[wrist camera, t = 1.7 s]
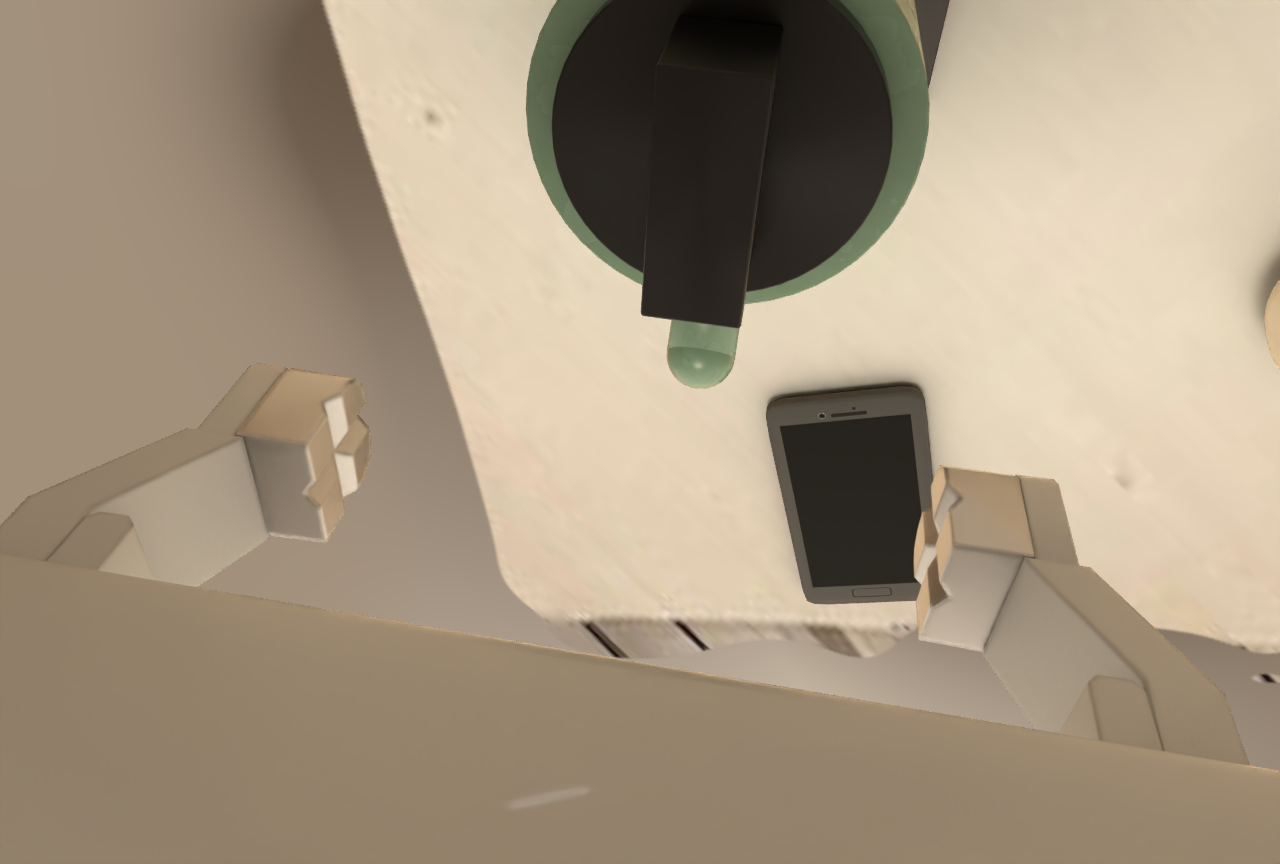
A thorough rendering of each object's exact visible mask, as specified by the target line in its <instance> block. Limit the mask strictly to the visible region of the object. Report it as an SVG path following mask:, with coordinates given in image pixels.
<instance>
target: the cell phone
mask: <svg viewBox="0 0 1280 864" xmlns="http://www.w3.org/2000/svg"><path fill="white" fill-rule="evenodd" d="M766 420H767V426H768V432H769V438H770V442H771V447H772V451H773V456H774V461H775V465H776V470H777V474H778V479H779V483H780V488H781V492H782V497H783V502H784V506H785V511H786V515H787V520H788V524H789V529H790V533H791V538H792V543H793V547H794V552H795V556H796V561H797V565H798V570H799V574H800V579H801V584H802V588H803V592H804V594H805V597H806V599H807V601H808V602H811V603H814V604H847V603H871V602H895V601H917V598H918V595H919V592H920V589H921V586H922V585H921V584H920V583H919V582H918V581H917V579H916V578H915V577H914V547H915V541H916V535H917V529H918V526H919V522H920V519H921V516H922V512H923V511H924V510H925V509H927V508H928V507H930V506H931V505H932V496H931V485H932V482H933V474H932V464H931V454H930V443H929V433H928V423H927V415H926V408H925V401H924V397H923V395H922V392H921V391H920V390H919V389H918V388H915V387H908V386H897V387H887V388H877V389H868V390H858V391H848V392H838V393H829V394H819V395H809V396H799V397H790V398H781V399H779V400H776V401H774V402H772V403H770V404H769V405H768V407H767V412H766Z"/></svg>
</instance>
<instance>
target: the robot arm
mask: <svg viewBox="0 0 1280 864" xmlns="http://www.w3.org/2000/svg"><path fill="white" fill-rule="evenodd" d="M364 404H365V399H364V394H363V389H362V384H361V383H359V382H358V381H357V380H356V379H353V378H346V377H341V376H335V375H329V374H323V373H317V372H311V371H305V370H300V369H294V368H290V369H288V368H285V367H278V366H272V365H266V364H261V363H258V364H255V365H252V366H249V367H248V368H247V370H246V371H245V372H244V373H243V374H242V376H241V377H240V378H239V380H237V382H236V383H235V384H234V385H233V387H232V388H231V389H230V390H229V391H228V393H227V394H226V395H225V396H224V397H223V399H222V400H221V401H220V402H219V403H218V405H217V406H216V407H215V408H214V409H213V411H212V412H211V413H210V414H209V415H208V417H207V418H206V419H205V420H204V422H203V423H202V424H201V425H200V426H199V427H198V429H197V430H194V429H188V428H186V429H184V430H182V431H179V432H177V433H175V434H173V435H170V436H168V437H166V438H163V439H161V440H159V441H156V442H154V443H152V444H150V445H147V446H145V447H142V448H140V449H138V450H135V451H133V452H131V453H128V454H126V455H124V456H121V457H119V458H117V459H114V460H112V461H110V462H107V463H105V464H103V465H101V466H98V467H96V468H94V469H91V470H89V471H87V472H84V473H82V474H80V475H77V476H75V477H73V478H70V479H68V480H66V481H63V482H61V483H59V484H57V485H54V486H52V487H49V488H48V489H45V490H42V491H40V492H38V493H36V494H33V495H31V496H29V497H27V498H26V499H25V501H23V502H22V503H21V504H20V506H19V507H18V508H17V509H16V510H15V511H14V512H13V513H12V514H11V515H10V516H9V517H8V518H7V519H6V520H5V521H4V522H3V523H2V524H1V525H0V864H1280V771H1277V770H1272V769H1265V768H1259V767H1253V766H1250V764H1249V762H1248V759H1247V756H1246V753H1245V750H1244V747H1243V744H1242V742H1241V739H1240V736H1239V733H1238V730H1237V727H1236V724H1235V722H1234V719H1233V716H1232V713H1231V710H1230V707H1229V705H1228V702H1227V699H1226V696H1225V694H1224V693H1223V692H1222V691H1221V690H1220V689H1219V688H1218V687H1217V686H1216V685H1215V684H1214V683H1213V682H1212V681H1211V680H1210V679H1209V678H1207V677H1206V676H1205V675H1204V674H1203V673H1202V672H1201V671H1200V670H1199V669H1198V668H1197V667H1196V666H1195V665H1194V664H1192V663H1191V662H1190V661H1189V660H1188V659H1187V658H1186V657H1185V656H1184V655H1183V654H1182V653H1181V652H1180V651H1179V650H1178V649H1177V648H1175V647H1174V646H1173V645H1172V644H1171V643H1170V642H1169V641H1168V640H1167V639H1166V638H1165V637H1164V636H1163V635H1162V634H1161V633H1160V632H1158V631H1157V630H1156V629H1155V628H1154V627H1153V626H1152V625H1151V624H1150V623H1149V622H1148V621H1147V620H1146V619H1145V618H1144V617H1142V616H1141V615H1140V614H1139V613H1138V612H1137V611H1136V610H1135V609H1134V608H1133V607H1132V606H1131V605H1130V604H1129V603H1128V602H1126V601H1125V600H1124V599H1123V598H1122V597H1121V596H1120V595H1119V594H1118V593H1117V592H1116V591H1115V590H1114V589H1113V588H1112V587H1110V586H1109V585H1108V584H1107V583H1106V582H1105V581H1104V580H1103V579H1102V578H1101V577H1100V576H1099V575H1098V574H1097V573H1096V572H1094V571H1093V570H1092V569H1091V568H1090V567H1084V566H1079V563H1078V559H1077V555H1076V551H1075V547H1074V543H1073V539H1072V535H1071V531H1070V527H1069V523H1068V519H1067V515H1066V511H1065V507H1064V504H1063V500H1062V496H1061V492H1060V488H1059V484H1058V483H1057V482H1056V481H1055V480H1054V479H1046V478H1038V477H1030V476H1022V475H1015V476H1013V475H1007V474H1000V473H992V472H985V471H978V470H971V469H964V468H957V467H950V466H943V465H940V466H939V468H938V470H937V471H936V473H935V476H934V479H933V482H932V485H931V496H932V505H931V506H930V507H928V508H927V509H925V510H924V511H923V512H922V516H921V519H920V522H919V526H918V529H917V535H916V541H915V547H914V577H915V578H916V579H917V581H918V582H919V583H920V584H921V585H922V586H921V589H920V592H919V595H918V598H917V601H916V608H917V621H918V634H919V640H923V641H929V642H934V643H939V644H944V645H949V646H955V647H960V648H965V649H971V650H976V651H981V652H983V654H982V655H983V656H984V658H985V659H986V661H987V662H988V664H989V665H990V667H991V668H992V669H993V671H994V672H995V674H996V675H997V676H998V678H999V679H1000V681H1001V682H1002V683H1003V685H1004V686H1005V688H1006V689H1007V691H1008V692H1009V693H1010V695H1011V696H1012V698H1013V699H1014V700H1015V702H1016V703H1017V705H1018V706H1019V708H1020V709H1021V710H1022V712H1023V713H1024V715H1025V716H1026V717H1027V719H1028V720H1029V722H1030V723H1031V724H1032V726H1033V727H1034V729H1030V728H1024V727H1018V726H1012V725H1006V724H1001V723H994V722H989V721H983V720H977V719H971V718H965V717H959V716H953V715H947V714H942V713H935V712H929V711H923V710H917V709H911V708H905V707H899V706H893V705H887V704H881V703H875V702H869V701H863V700H858V699H852V698H845V697H839V696H834V695H828V694H822V693H817V692H811V691H805V690H799V689H793V688H787V687H781V686H776V685H770V684H764V683H758V682H752V681H746V680H740V679H735V678H729V677H723V676H717V675H711V674H705V673H700V672H694V671H688V670H682V669H676V668H671V667H664V666H659V665H653V664H647V663H641V662H635V661H629V660H623V659H618V658H612V657H606V656H600V655H594V654H588V653H582V652H576V651H570V650H564V649H558V648H552V647H546V646H540V645H534V644H528V643H523V642H517V641H511V640H505V639H499V638H493V637H486V636H481V635H475V634H468V633H463V632H457V631H451V630H445V629H439V628H434V627H428V626H421V625H416V624H410V623H404V622H398V621H392V620H386V619H381V618H375V617H369V616H363V615H357V614H351V613H345V612H339V611H334V610H328V609H322V608H316V607H310V606H304V605H298V604H292V603H286V602H280V601H275V600H269V599H263V598H257V597H251V596H245V595H239V594H234V593H228V592H221V591H216V590H210V589H204V588H198V586H199V585H201V584H202V583H204V582H205V581H207V580H208V579H210V578H211V577H213V576H214V575H216V574H217V573H219V572H220V571H221V570H223V569H224V568H226V567H227V566H229V565H230V564H232V563H233V562H235V561H236V560H237V559H239V558H241V557H242V556H244V555H245V554H247V553H248V552H250V551H251V550H252V549H254V548H255V547H257V546H258V545H260V544H261V543H263V542H264V541H266V540H267V539H269V535H271V536H279V537H286V538H293V539H302V540H309V541H316V542H324V543H327V541H328V539H329V538H330V536H331V534H332V533H333V531H334V529H335V527H336V526H337V524H338V522H339V521H340V519H341V517H342V516H343V514H344V512H345V506H344V501H343V497H345V496H346V495H348V494H350V493H352V492H354V491H355V490H357V489H358V488H359V486H360V484H361V482H362V480H363V479H364V477H365V475H366V471H367V467H368V463H369V460H370V451H371V439H370V431H369V427H368V426H367V424H366V423H365V422H364V421H363V420H362V419H361V418H360V417H359V415H358V414H359V412H360V410H361V409H362V407H363V406H364Z"/></svg>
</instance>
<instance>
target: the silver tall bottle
mask: <svg viewBox="0 0 1280 864" xmlns="http://www.w3.org/2000/svg"><path fill="white" fill-rule="evenodd" d="M1264 319H1265V330H1266V335H1267V339H1268V344H1269V349H1270V352H1271V354H1272V357H1273V360H1274V362H1275V363H1276V364H1277V366H1278V367H1279V368H1280V279H1279V281H1278V282H1277V284H1276V285H1275V287H1274V288H1273V290H1272V292H1271V294H1270V297H1269V299H1268V301H1267V304H1266V310H1265V315H1264Z"/></svg>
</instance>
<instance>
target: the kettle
mask: <svg viewBox="0 0 1280 864" xmlns="http://www.w3.org/2000/svg"><path fill="white" fill-rule="evenodd" d="M526 116H527V127H528V136H529V140H530V145H531V150H532V154H533V159H534V161H535V164H536V167H537V170H538V173H539V176H540V178H541V181H542V183H543V185H544V187H545V189H546V191H547V193H548V195H549V197H550V199H551V201H552V203H553V205H554V206H555V208H556V209H557V211H558V212H559V214H560V215H561V217H562V218H563V220H564V221H565V223H566V224H567V225H568V227H569V228H570V229H571V230H572V231H573V232H574V234H575V235H576V236H577V237H578V238H579V240H580V241H581V242H582V243H583V244H584V245H586V246H587V247H588V248H589V249H590V250H591V251H592V252H593V253H594V254H595V255H596V256H597V257H598V258H600V259H601V260H602V261H604V262H605V263H607V264H608V265H609V266H611V267H612V268H613V269H615V270H616V271H618V272H619V273H621V274H623V275H624V276H626V277H628V278H630V279H631V280H633V281H635V282H637V283H639V284H641V285H643V286H642V302H641V314H642V315H643V316H648V317H655V318H663V319H670V320H672V321H671V327H670V334H669V340H668V347H667V362H668V366H669V368H670V370H671V372H672V374H673V375H674V376H675V378H676V379H677V380H678V381H680V382H681V383H682V384H684V385H686V386H688V387H691V388H696V389H705V388H710V387H713V386H715V385H717V384H719V383H721V382H722V381H723V380H724V379H725V378H726V377H727V376H728V374H729V373H730V371H731V369H732V367H733V364H734V360H735V354H736V347H737V340H738V333H739V328H740V326H741V322H742V316H743V310H744V304H751V303H758V302H764V301H771V300H775V299H779V298H783V297H786V296H790V295H794V294H796V293H799V292H801V291H804V290H806V289H809V288H811V287H814V286H816V285H818V284H820V283H822V282H824V281H826V280H827V279H829V278H831V277H833V276H835V275H837V274H838V273H840V272H841V271H842V270H844V269H845V268H847V267H848V266H849V265H851V264H852V263H854V262H855V261H856V260H858V259H859V258H860V257H861V256H862V255H863V254H864V253H865V252H866V251H867V250H869V249H870V248H871V247H872V246H873V245H874V244H875V243H876V242H877V241H878V240H879V238H880V237H881V236H882V235H883V234H884V233H885V231H886V230H887V229H888V228H889V227H890V225H891V224H892V223H893V221H894V220H895V218H896V217H897V215H898V213H899V212H900V210H901V209H902V207H903V206H904V204H905V202H906V200H907V198H908V196H909V194H910V192H911V190H912V188H913V186H914V184H915V181H916V179H917V176H918V173H919V169H920V166H921V163H922V160H923V157H924V152H925V147H926V141H927V135H928V129H929V94H928V84H927V75H926V69H925V63H924V57H923V51H922V45H921V39H920V32H919V26H918V20H917V14H916V8H915V2H914V0H557V2H556V3H555V5H554V6H553V8H552V9H551V11H550V13H549V15H548V17H547V19H546V22H545V24H544V26H543V28H542V30H541V32H540V34H539V37H538V40H537V43H536V46H535V50H534V53H533V56H532V59H531V65H530V70H529V76H528V82H527V97H526Z"/></svg>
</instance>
